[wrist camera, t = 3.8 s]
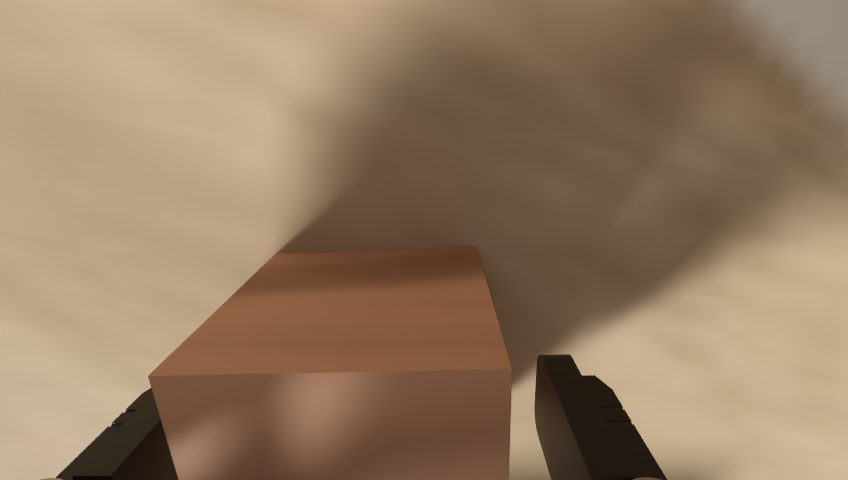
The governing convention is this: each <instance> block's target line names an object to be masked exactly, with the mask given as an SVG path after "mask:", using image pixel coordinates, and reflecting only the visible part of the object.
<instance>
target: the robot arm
mask: <svg viewBox="0 0 848 480" xmlns="http://www.w3.org/2000/svg"><path fill="white" fill-rule="evenodd" d="M535 421H536V428H537V433H538V436H539V440H540V443H541V446H542V450H543V453H544V456H545V460H546V463H547V466H548V470H549V473H550V476H551V480H667V479H666V477H665V475H664V474H663V472H662V470H661V469H660V467H659V466H658V464H657V462H656V461H655V459H654V457H653V456H652V454H651V452H650V451H649V449H648V447H647V446H646V444H645V443H644V441H643V439H642V438H641V436H640V434H639V433H638V431H637V429H636V428H635V426H634V424H632V423H631V420H630V418H629V416H628V415H627V413H626V411H625V410H623V406H622V405H621V403H620V401H619V400H618V398H617V397H616V395H615V393H614V392H613V390H612V389H611V388H610V387H608V386H607V385H606V384H605V383H603V382H602V381H601V380H600V379H598V378H597V377H596V376H582V375H581V373H580V371H579V369H578V368H577V366H576V364H575V362H574V360H573V358H572V357H571V355H539V356H538V359H537V371H536V390H535ZM42 480H179V479H178V476H177V473H176V469H175V466H174V462H173V459H172V456H171V452H170V449H169V445H168V442H167V439H166V435H165V432H164V428H163V425H162V422H161V418H160V415H159V411H158V408H157V405H156V401H155V398H154V394H153V391H152V388H150V389H149V390H147V391H146V392H144V393H142V394H141V395H140V396H139V397H138V398H137V399H136V400H135V401H134V402H133V403H132V404H131V405H130V406H129V407H128V408H127V409H126V412H125V413H122V414H121V415H120V416H119V417H118V418H117V419H116V420H115V421H114V422H112V426H111V427H107V428H106V429H105V430H104V431H103V432H102V433H101V434H100V435H99V436H98V437H97V438H96V439H95V440H94V441H93V442H92V443H91V444H90V445H89V446H88V447H87V448H86V449H85V450H84V451H83V452H82V453H81V454H80V455H79V456H78V457H76V458H75V459H74V460H73V461H72V462H71V463H70V464H69V465H68V466H67V467H66V468H65V469H64V470H63V471H62V472H61V473H60V474H59V475H58V476H57V477H56V478H48V479H42Z"/></svg>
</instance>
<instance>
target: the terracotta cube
mask: <svg viewBox="0 0 848 480" xmlns="http://www.w3.org/2000/svg"><path fill="white" fill-rule="evenodd" d="M148 377H149V381H150V384H151V388H152V391H153V394H154V398H155V401H156V405H157V408H158V411H159V415H160V418H161V422H162V425H163V428H164V432H165V435H166V439H167V442H168V445H169V449H170V452H171V456H172V459H173V462H174V466H175V469H176V473H177V476H178V479H179V480H509V449H510V417H511V385H512V367H511V364H510V360H509V357H508V354H507V350H506V347H505V343H504V340H503V336H502V333H501V329H500V326H499V322H498V319H497V315H496V312H495V308H494V305H493V301H492V298H491V295H490V291H489V288H488V284H487V281H486V277H485V274H484V270H483V267H482V263H481V260H480V256H479V253H478V249H477V247H462V248H427V249H391V250H356V251H321V252H286V253H276V254H275V255H274V256H273V257H272V258H271V259H270V260H269V261H268V262H267V263H266V264H265V265H264V266H263V267H261V268H260V269H259V270H258V271H257V272H256V273H255V274H254V275H253V276H252V277H251V278H250V279H249V280H248V281H247V282H246V283H245V284H244V285H243V286H242V287H241V288H240V289H238V290H237V291H236V292H235V293H234V294H233V295H232V296H231V297H230V298H229V299H228V300H227V301H226V302H225V303H224V304H223V305H222V306H221V307H220V308H219V309H218V310H217V311H215V312H214V313H213V314H212V315H211V316H210V317H209V318H208V319H207V320H206V321H205V322H204V323H203V324H202V325H201V326H200V327H199V328H198V329H197V330H196V331H195V332H194V333H192V334H191V335H190V336H189V337H188V338H187V339H186V340H185V341H184V342H183V343H182V344H181V345H180V346H179V347H178V348H177V349H176V350H175V351H174V352H173V353H172V354H170V355H169V356H168V357H167V358H166V359H165V360H164V361H163V362H162V363H161V364H160V365H159V366H158V367H157V368H156V369H155V370H154V371H153V372H152V373H151V374H150V375H149V376H148Z"/></svg>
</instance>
